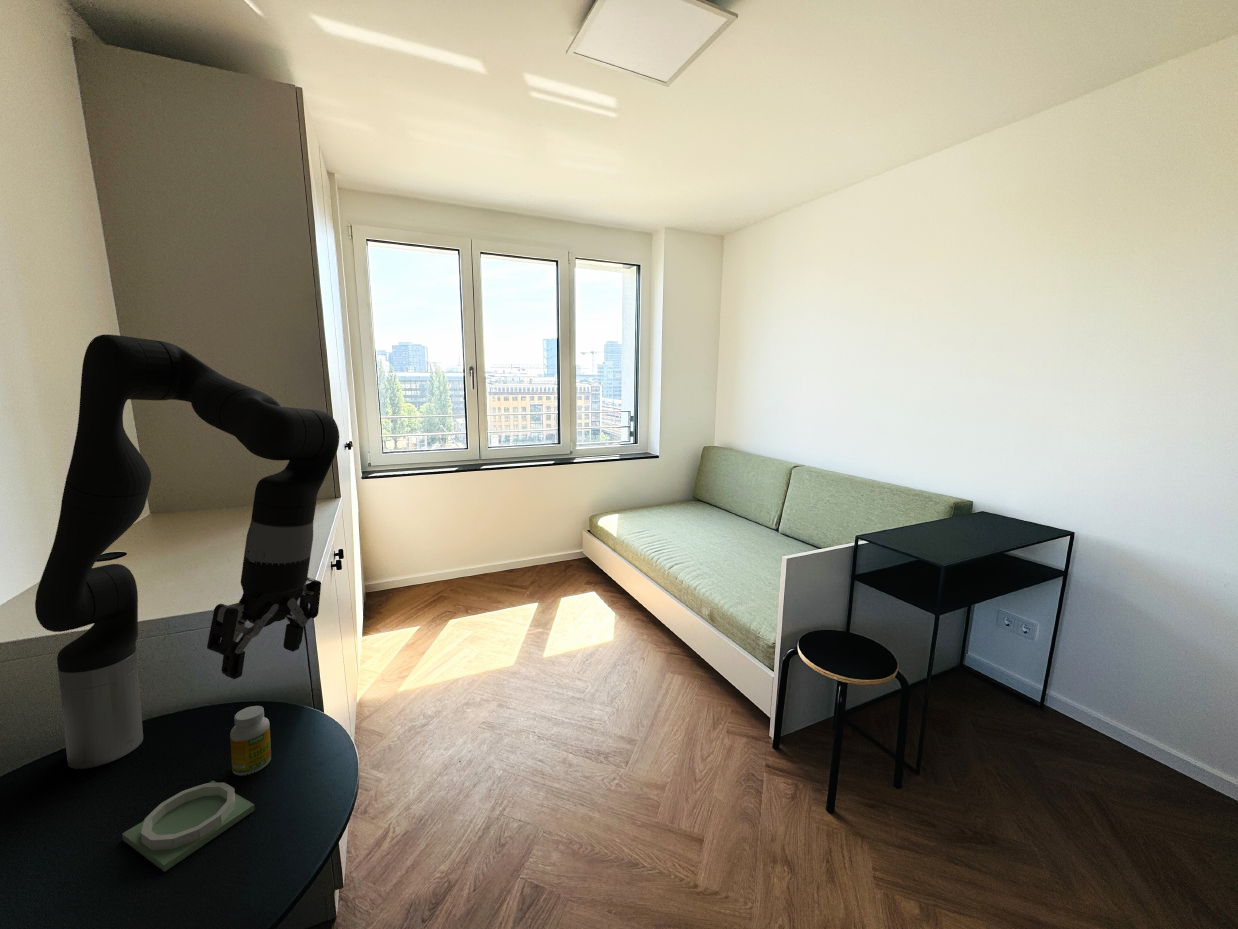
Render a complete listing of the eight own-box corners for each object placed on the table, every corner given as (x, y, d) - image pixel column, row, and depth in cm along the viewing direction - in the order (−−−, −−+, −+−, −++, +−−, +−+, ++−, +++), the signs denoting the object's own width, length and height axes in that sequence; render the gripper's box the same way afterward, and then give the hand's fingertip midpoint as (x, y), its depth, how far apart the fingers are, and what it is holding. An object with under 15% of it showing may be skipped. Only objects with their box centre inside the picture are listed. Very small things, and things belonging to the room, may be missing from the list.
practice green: (122, 840, 68) (121, 824, 68) (213, 786, 78) (212, 771, 78) (164, 872, 64) (163, 855, 64) (254, 810, 74) (253, 795, 74)
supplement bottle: (250, 779, 80) (247, 725, 79) (223, 773, 81) (220, 720, 80) (279, 756, 85) (276, 705, 84) (253, 751, 86) (251, 701, 85)
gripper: (302, 535, 74) (288, 634, 75) (202, 556, 60) (187, 677, 61) (342, 547, 72) (327, 649, 73) (249, 572, 58) (232, 696, 60)
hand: (263, 662), depth 67 cm, fingers open, 8 cm apart
